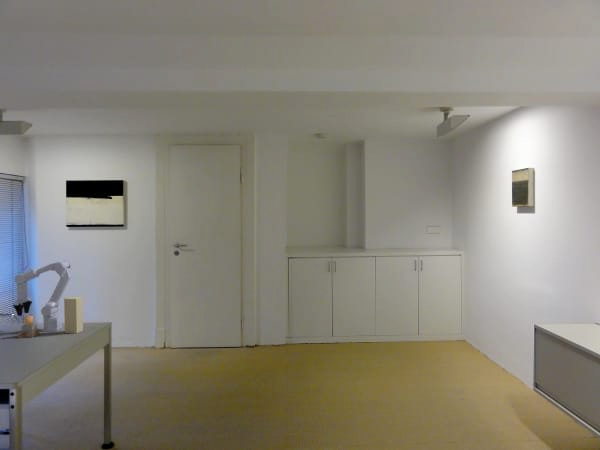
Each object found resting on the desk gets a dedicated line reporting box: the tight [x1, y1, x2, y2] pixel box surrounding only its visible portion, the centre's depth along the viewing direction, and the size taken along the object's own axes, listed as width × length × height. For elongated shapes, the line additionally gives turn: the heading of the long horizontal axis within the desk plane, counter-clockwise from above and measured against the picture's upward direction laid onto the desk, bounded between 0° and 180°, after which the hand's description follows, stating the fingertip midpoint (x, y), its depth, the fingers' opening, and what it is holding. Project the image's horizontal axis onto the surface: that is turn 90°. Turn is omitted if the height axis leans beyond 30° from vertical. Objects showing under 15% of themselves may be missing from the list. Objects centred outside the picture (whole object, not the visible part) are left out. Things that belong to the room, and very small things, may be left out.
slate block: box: [20, 322, 38, 332], centre depth 259 cm, size 6×6×4 cm
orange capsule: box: [24, 315, 34, 326], centre depth 259 cm, size 4×4×5 cm
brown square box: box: [17, 328, 40, 339], centre depth 259 cm, size 8×8×4 cm
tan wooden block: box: [63, 296, 84, 334], centre depth 266 cm, size 8×7×21 cm
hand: (23, 314), depth 271 cm, fingers open, 7 cm apart
